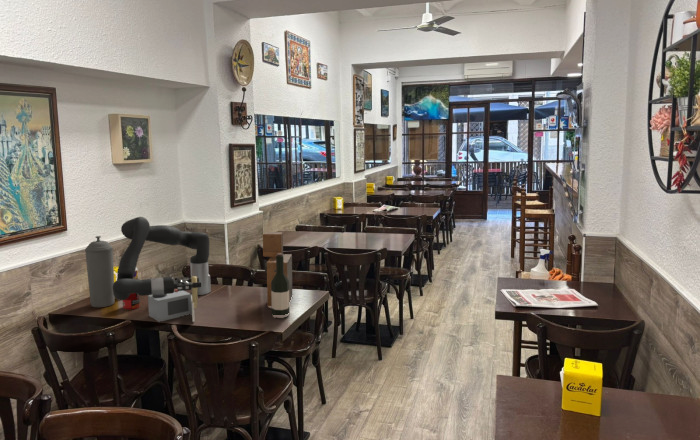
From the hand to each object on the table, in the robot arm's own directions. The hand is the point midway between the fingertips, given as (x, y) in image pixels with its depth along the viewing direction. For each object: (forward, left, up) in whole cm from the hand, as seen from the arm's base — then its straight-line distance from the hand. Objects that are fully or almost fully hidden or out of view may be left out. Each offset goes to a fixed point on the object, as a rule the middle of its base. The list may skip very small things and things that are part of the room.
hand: (199, 282), depth 237 cm
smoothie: (+8, -63, -18) cm, 66 cm away
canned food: (+16, -41, -18) cm, 48 cm away
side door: (+1, -5, -18) cm, 18 cm away
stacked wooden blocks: (-43, +1, -18) cm, 47 cm away
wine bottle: (-31, +19, -18) cm, 41 cm away
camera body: (+7, -17, -18) cm, 26 cm away
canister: (+25, -55, -18) cm, 63 cm away
